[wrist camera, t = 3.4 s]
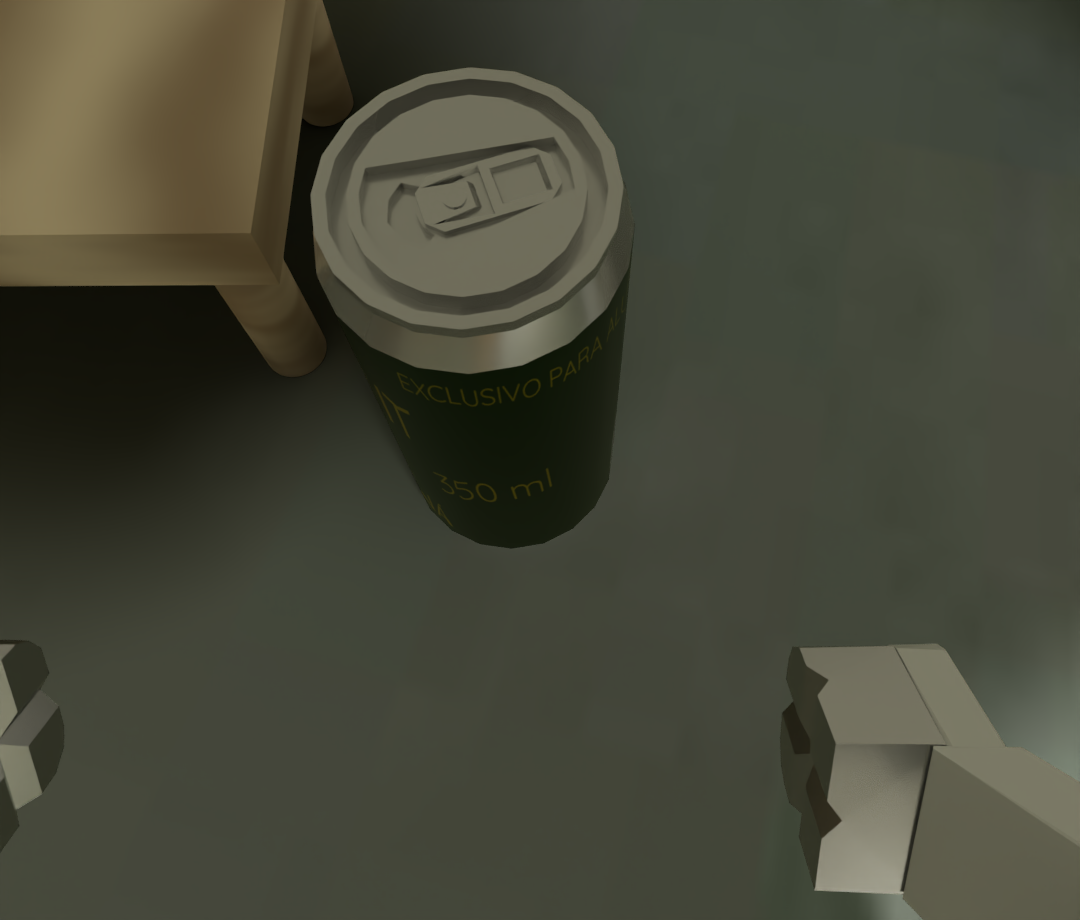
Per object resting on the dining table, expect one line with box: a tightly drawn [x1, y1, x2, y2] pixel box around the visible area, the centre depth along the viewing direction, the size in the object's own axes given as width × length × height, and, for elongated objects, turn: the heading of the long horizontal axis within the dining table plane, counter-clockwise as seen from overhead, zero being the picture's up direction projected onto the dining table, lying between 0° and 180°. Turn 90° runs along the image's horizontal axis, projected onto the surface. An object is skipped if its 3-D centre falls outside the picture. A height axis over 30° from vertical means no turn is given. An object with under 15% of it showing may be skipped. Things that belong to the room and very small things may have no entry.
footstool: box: [0, 0, 353, 377], centre depth 25 cm, size 14×12×8 cm
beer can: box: [310, 67, 635, 548], centre depth 20 cm, size 5×5×12 cm
